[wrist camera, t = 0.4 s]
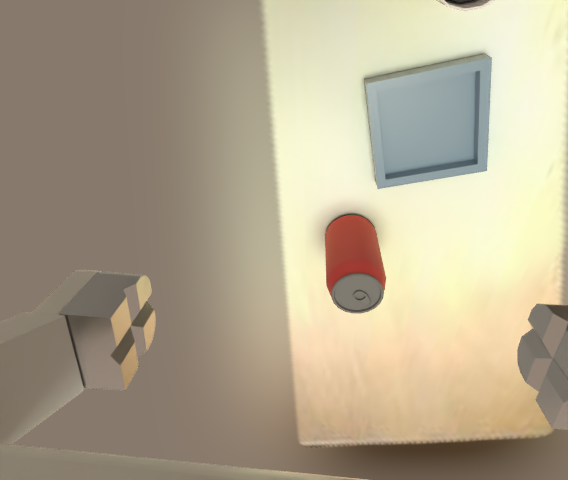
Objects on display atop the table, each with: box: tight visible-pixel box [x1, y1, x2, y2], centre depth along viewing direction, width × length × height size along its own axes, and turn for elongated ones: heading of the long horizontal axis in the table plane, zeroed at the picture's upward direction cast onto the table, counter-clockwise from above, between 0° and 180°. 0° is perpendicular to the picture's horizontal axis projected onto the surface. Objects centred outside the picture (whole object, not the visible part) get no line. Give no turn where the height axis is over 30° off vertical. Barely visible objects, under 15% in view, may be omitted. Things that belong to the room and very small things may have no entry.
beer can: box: [325, 215, 386, 313], centre depth 50 cm, size 7×7×12 cm
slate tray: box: [364, 54, 492, 189], centre depth 45 cm, size 12×12×2 cm
